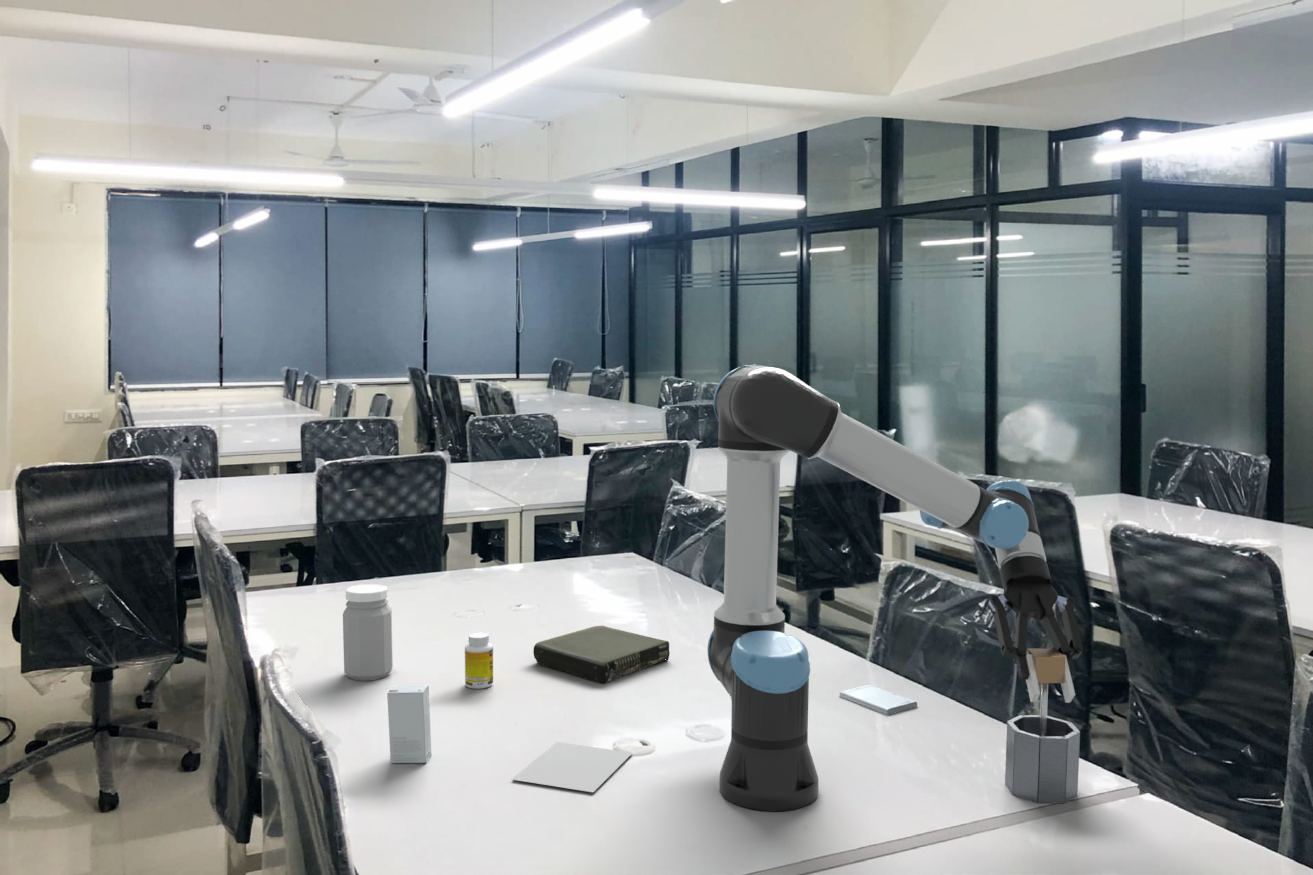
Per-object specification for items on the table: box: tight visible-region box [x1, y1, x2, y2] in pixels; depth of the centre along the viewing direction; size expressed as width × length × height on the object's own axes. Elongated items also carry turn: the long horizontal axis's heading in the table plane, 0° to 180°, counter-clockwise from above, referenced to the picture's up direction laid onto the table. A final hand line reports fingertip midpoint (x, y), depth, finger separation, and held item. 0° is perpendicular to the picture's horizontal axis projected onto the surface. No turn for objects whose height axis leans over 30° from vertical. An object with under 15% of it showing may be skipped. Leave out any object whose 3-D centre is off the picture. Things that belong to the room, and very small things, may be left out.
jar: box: [342, 583, 394, 681], centre depth 221 cm, size 10×10×18 cm
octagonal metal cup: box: [1004, 714, 1081, 804], centre depth 166 cm, size 10×10×10 cm
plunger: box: [1026, 647, 1066, 736], centre depth 165 cm, size 7×7×16 cm
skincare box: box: [386, 684, 432, 764], centre depth 177 cm, size 6×4×12 cm
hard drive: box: [839, 684, 918, 716], centre depth 206 cm, size 2×8×12 cm
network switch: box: [532, 625, 670, 685], centre depth 230 cm, size 23×24×5 cm
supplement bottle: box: [464, 632, 494, 690], centre depth 214 cm, size 6×6×10 cm
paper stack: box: [511, 741, 633, 793], centre depth 180 cm, size 23×25×1 cm
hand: (1052, 697), depth 161 cm, fingers closed on plunger, 4 cm apart
